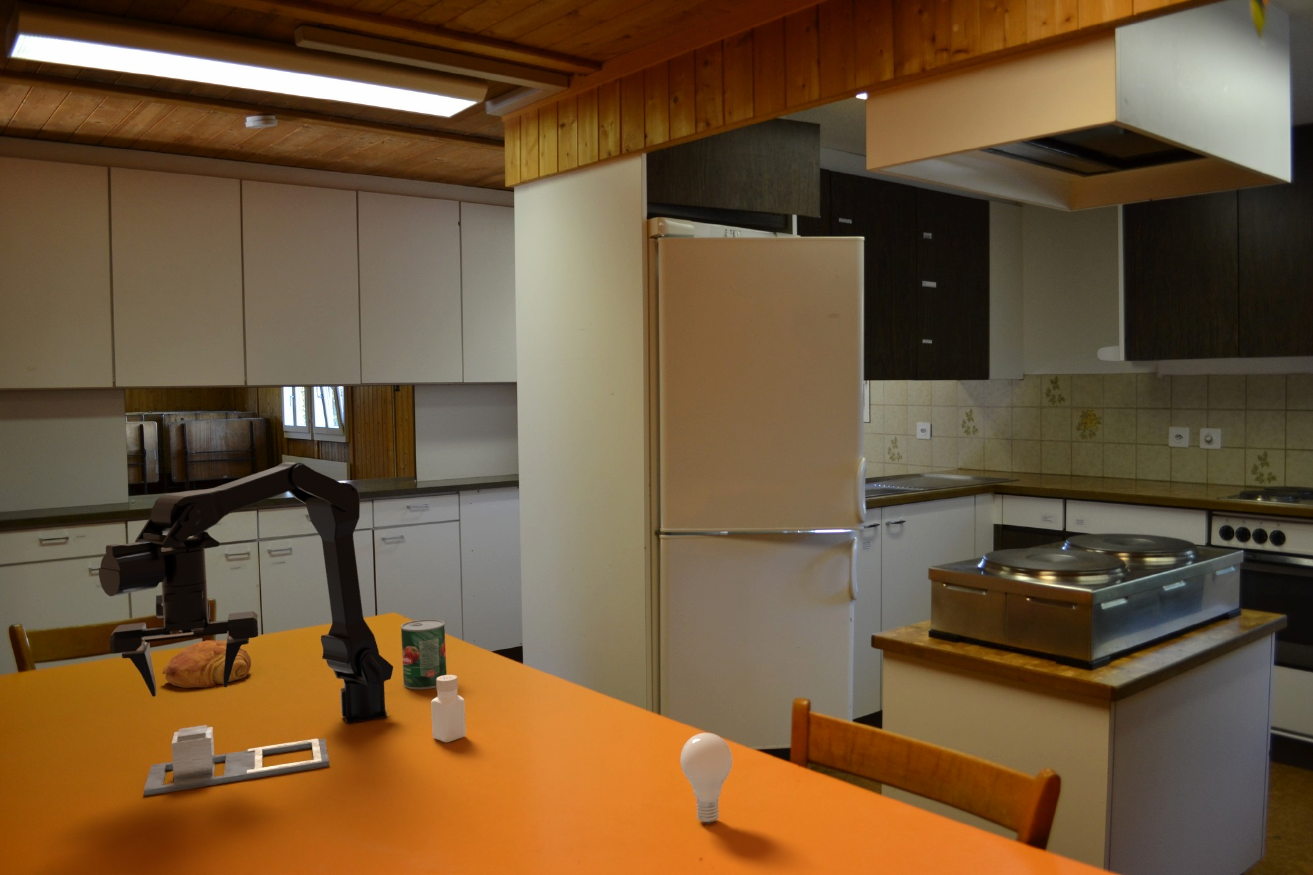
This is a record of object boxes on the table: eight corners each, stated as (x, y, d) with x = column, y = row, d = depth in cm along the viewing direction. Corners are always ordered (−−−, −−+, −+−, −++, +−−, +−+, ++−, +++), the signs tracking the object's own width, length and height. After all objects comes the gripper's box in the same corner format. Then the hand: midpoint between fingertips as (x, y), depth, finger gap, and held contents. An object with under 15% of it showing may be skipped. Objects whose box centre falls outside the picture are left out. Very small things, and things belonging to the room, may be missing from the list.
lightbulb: (679, 812, 124) (677, 726, 124) (729, 809, 125) (727, 723, 124) (685, 835, 118) (682, 745, 117) (737, 831, 118) (735, 741, 118)
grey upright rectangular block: (214, 766, 144) (212, 722, 144) (213, 779, 140) (210, 733, 139) (176, 772, 142) (174, 727, 142) (174, 785, 138) (171, 739, 137)
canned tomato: (456, 680, 184) (453, 621, 183) (425, 691, 177) (422, 631, 176) (425, 674, 188) (423, 617, 187) (394, 685, 181) (391, 626, 181)
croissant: (221, 674, 200) (217, 635, 200) (265, 675, 191) (260, 633, 191) (150, 691, 188) (146, 649, 189) (193, 693, 179) (188, 649, 179)
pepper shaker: (467, 737, 153) (465, 676, 153) (446, 744, 150) (443, 683, 150) (452, 731, 156) (449, 672, 156) (430, 738, 153) (428, 678, 153)
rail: (325, 743, 152) (324, 737, 152) (329, 766, 143) (328, 759, 143) (151, 770, 143) (151, 763, 143) (143, 796, 134) (143, 788, 134)
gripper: (255, 567, 150) (261, 667, 151) (117, 579, 144) (124, 684, 144) (255, 579, 140) (260, 687, 141) (106, 593, 133) (113, 707, 134)
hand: (190, 691), depth 140 cm, fingers open, 9 cm apart
